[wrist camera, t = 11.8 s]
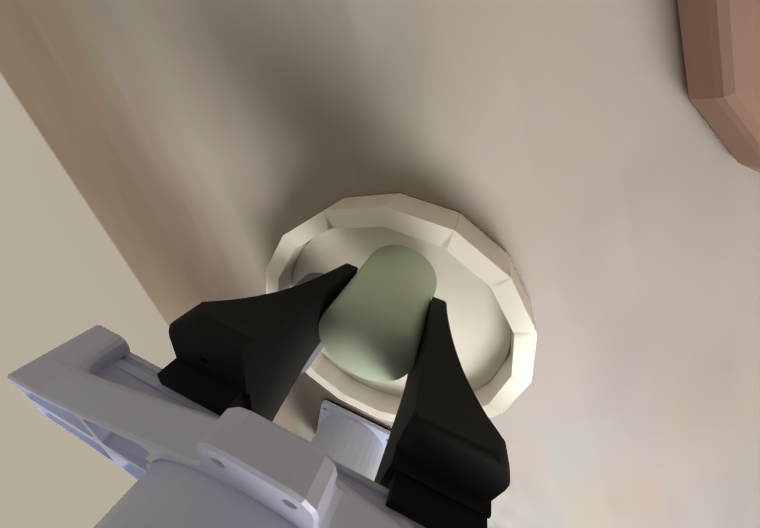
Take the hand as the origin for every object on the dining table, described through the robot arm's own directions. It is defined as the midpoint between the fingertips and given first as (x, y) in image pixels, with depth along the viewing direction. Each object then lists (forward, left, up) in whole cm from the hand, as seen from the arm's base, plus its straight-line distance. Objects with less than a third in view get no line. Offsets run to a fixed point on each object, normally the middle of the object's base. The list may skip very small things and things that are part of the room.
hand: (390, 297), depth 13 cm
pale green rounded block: (0, 0, -2) cm, 2 cm away
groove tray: (-5, 0, -4) cm, 6 cm away
